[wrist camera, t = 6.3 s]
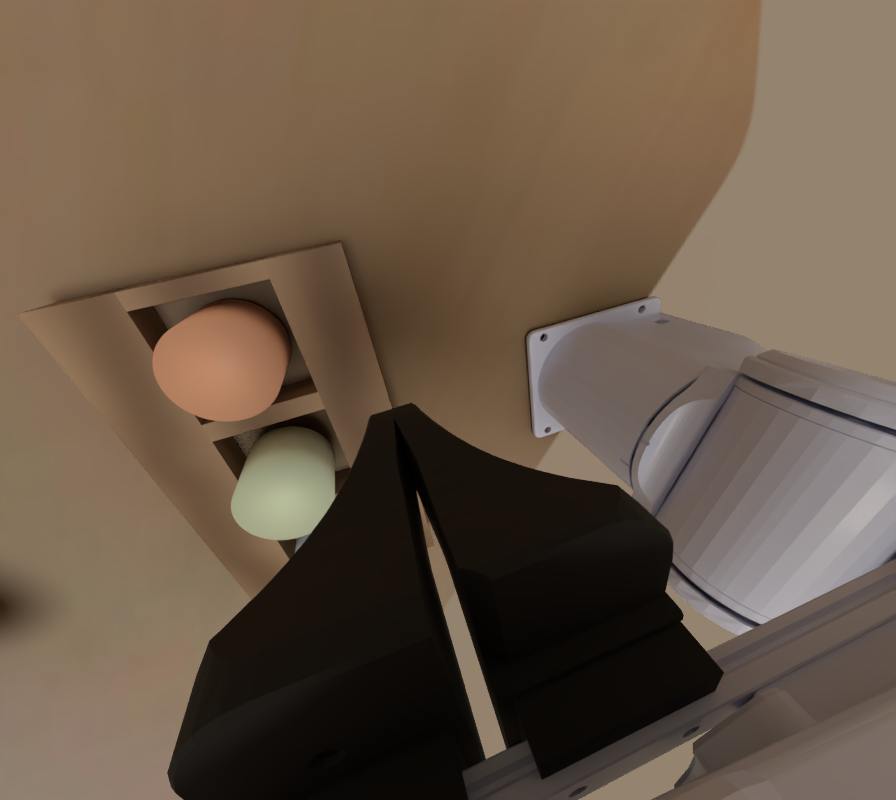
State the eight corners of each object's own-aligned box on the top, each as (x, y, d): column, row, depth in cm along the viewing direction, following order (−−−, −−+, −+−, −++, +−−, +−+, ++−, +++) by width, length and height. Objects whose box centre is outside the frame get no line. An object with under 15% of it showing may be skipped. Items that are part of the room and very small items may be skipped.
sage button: (318, 416, 18) (315, 454, 15) (345, 477, 20) (347, 520, 18) (232, 441, 18) (211, 486, 15) (269, 502, 20) (257, 552, 17)
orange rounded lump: (268, 289, 16) (252, 305, 13) (304, 373, 18) (298, 403, 15) (165, 313, 15) (124, 335, 12) (216, 398, 17) (192, 434, 14)
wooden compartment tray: (340, 240, 16) (341, 242, 15) (428, 524, 26) (434, 545, 25) (55, 302, 14) (17, 313, 13) (266, 582, 24) (260, 610, 23)
